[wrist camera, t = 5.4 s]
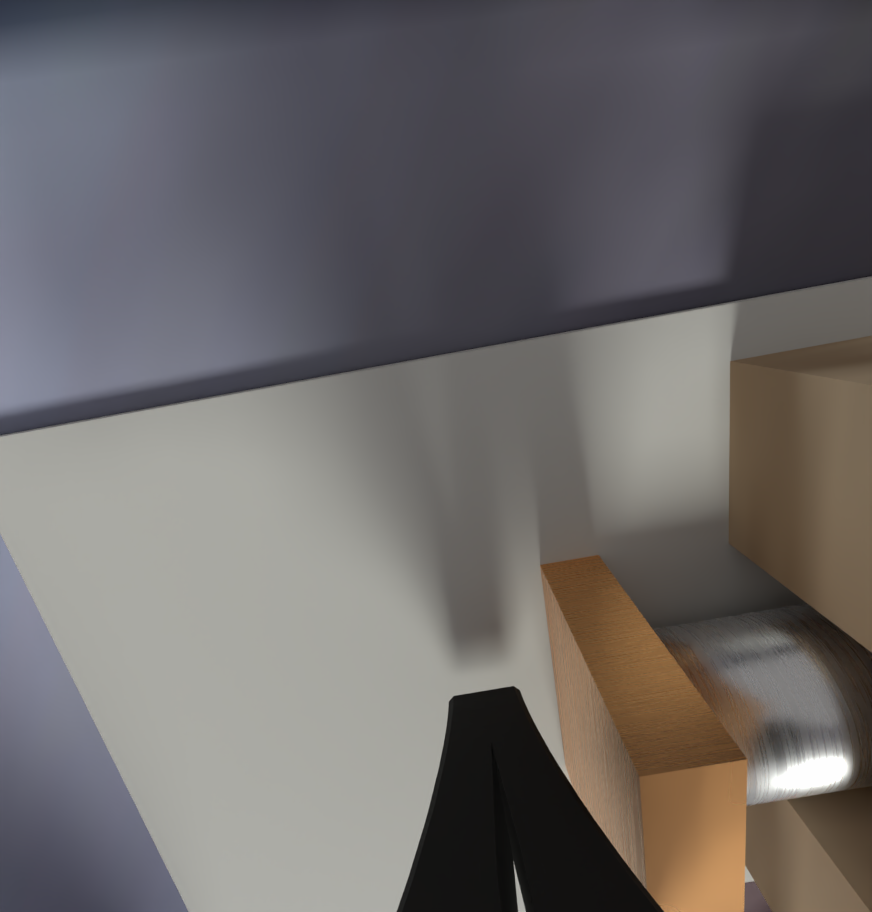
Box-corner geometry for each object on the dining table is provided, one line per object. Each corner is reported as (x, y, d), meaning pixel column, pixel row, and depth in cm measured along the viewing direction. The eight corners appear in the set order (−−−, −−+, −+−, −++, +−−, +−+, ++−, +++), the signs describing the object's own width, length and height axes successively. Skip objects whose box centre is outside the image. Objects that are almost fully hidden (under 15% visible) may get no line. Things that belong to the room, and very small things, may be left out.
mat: (218, 949, 13) (214, 963, 13) (-29, 440, 9) (-44, 444, 9) (903, 843, 13) (915, 856, 13) (1002, 252, 8) (1022, 250, 8)
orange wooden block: (565, 764, 11) (657, 1054, 7) (540, 564, 10) (639, 777, 5) (957, 700, 11) (1311, 957, 7) (996, 486, 9) (1496, 637, 5)
